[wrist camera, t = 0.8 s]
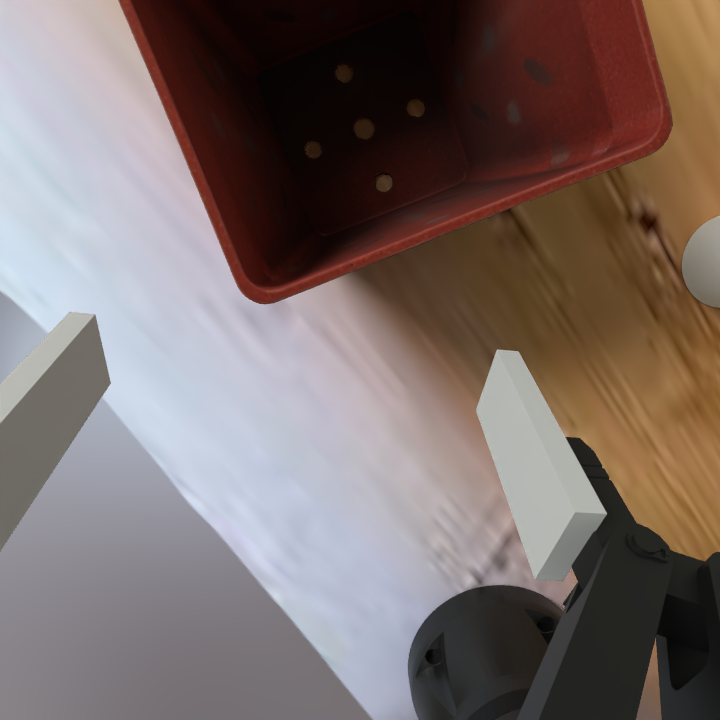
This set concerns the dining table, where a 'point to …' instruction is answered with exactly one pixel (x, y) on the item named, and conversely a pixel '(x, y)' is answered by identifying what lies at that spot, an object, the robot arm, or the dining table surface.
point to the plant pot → (391, 117)
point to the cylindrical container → (703, 263)
